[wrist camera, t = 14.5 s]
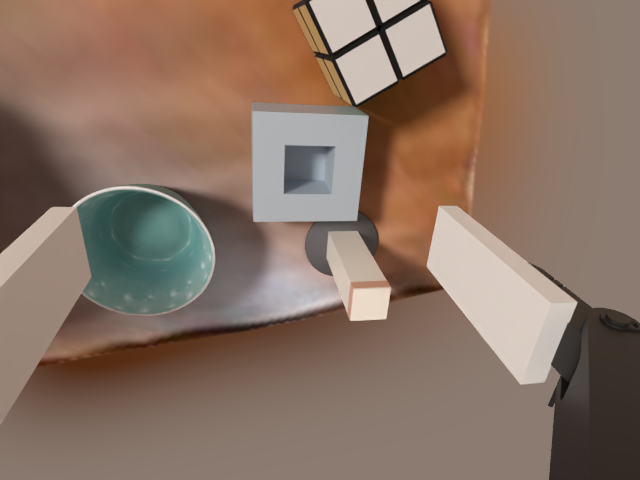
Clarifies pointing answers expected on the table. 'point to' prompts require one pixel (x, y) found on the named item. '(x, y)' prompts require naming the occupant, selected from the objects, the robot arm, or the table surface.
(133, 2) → the table surface
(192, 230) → the bowl
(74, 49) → the table surface
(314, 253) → the coaster
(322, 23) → the puzzle cube
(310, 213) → the socket block
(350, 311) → the plug
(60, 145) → the table surface
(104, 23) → the table surface
